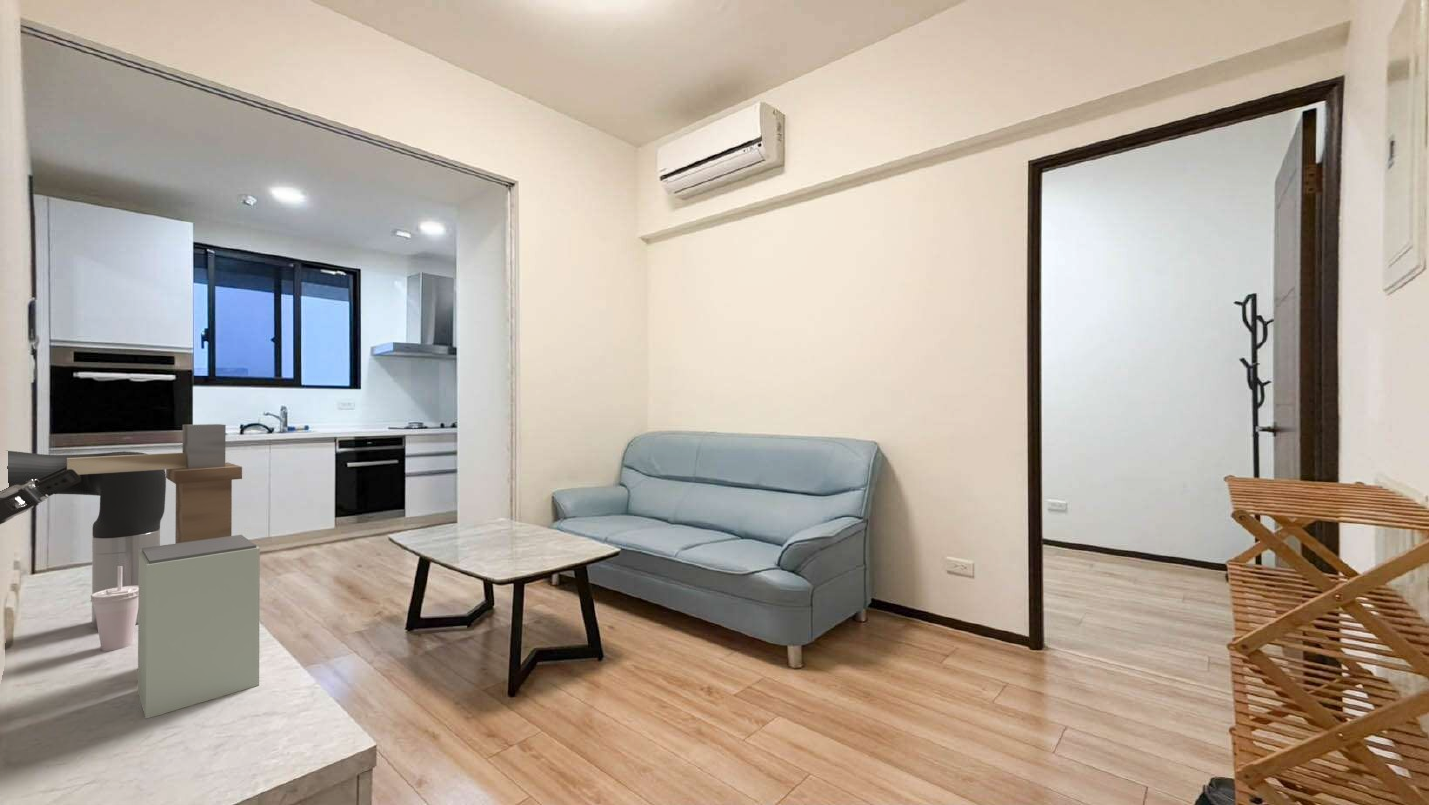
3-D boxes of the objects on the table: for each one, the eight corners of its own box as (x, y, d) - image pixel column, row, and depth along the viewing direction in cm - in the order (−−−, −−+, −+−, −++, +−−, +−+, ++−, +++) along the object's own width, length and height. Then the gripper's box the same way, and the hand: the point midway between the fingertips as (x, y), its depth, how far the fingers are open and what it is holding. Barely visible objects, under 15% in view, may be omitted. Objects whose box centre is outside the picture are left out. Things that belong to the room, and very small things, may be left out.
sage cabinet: (137, 690, 83) (138, 548, 83) (242, 662, 92) (243, 534, 92) (145, 719, 75) (146, 562, 75) (259, 685, 84) (259, 545, 84)
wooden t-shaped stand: (164, 656, 94) (166, 466, 95) (227, 640, 100) (228, 462, 101) (174, 678, 86) (175, 471, 87) (241, 660, 93) (242, 466, 93)
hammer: (66, 473, 85) (67, 426, 85) (217, 464, 98) (217, 424, 98) (67, 476, 80) (67, 427, 80) (225, 466, 93) (225, 424, 93)
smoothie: (107, 655, 95) (108, 572, 95) (79, 652, 96) (80, 570, 96) (152, 640, 101) (153, 562, 101) (125, 637, 102) (126, 560, 102)
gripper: (-55, 559, 78) (94, 488, 89) (-71, 578, 69) (97, 496, 80) (-103, 516, 75) (57, 449, 86) (-127, 530, 66) (56, 453, 77)
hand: (76, 472), depth 83 cm, fingers open, 8 cm apart
